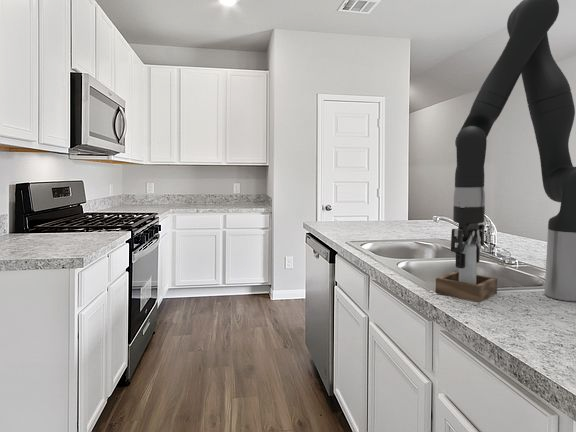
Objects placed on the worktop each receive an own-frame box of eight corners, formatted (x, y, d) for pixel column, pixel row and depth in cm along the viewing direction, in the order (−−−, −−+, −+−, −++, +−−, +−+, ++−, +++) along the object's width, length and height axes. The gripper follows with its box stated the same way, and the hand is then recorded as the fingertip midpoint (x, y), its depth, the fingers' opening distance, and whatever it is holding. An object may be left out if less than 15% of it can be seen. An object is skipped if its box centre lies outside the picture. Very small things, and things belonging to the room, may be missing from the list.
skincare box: (476, 293, 103) (478, 247, 102) (457, 291, 105) (459, 246, 104) (475, 287, 109) (477, 243, 108) (457, 285, 111) (459, 242, 110)
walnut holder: (454, 284, 115) (455, 271, 115) (496, 293, 107) (497, 278, 106) (435, 292, 108) (435, 278, 107) (478, 302, 99) (479, 286, 99)
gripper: (467, 202, 113) (465, 259, 114) (441, 205, 103) (441, 267, 105) (495, 203, 107) (493, 262, 109) (471, 206, 98) (469, 272, 99)
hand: (467, 265), depth 107 cm, fingers open, 8 cm apart
